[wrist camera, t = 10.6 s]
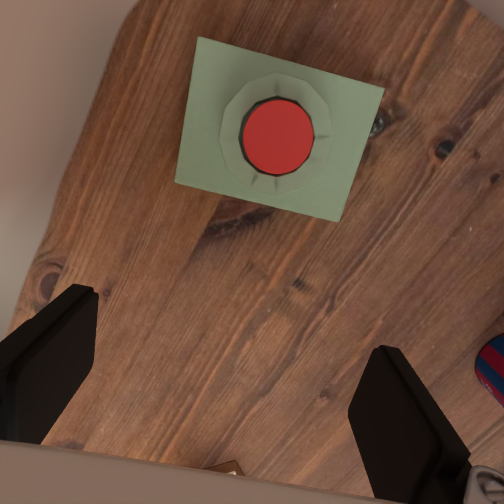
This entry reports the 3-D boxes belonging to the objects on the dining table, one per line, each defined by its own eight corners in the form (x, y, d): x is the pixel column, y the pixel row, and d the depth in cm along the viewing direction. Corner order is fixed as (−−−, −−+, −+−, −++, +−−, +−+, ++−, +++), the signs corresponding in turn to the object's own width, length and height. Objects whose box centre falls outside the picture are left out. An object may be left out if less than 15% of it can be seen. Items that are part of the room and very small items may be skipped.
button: (237, 162, 21) (235, 164, 19) (252, 94, 20) (252, 91, 18) (298, 177, 21) (301, 181, 20) (316, 112, 20) (322, 110, 18)
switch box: (180, 178, 25) (167, 186, 21) (202, 44, 22) (192, 26, 18) (332, 215, 26) (345, 229, 22) (373, 92, 23) (397, 84, 19)
